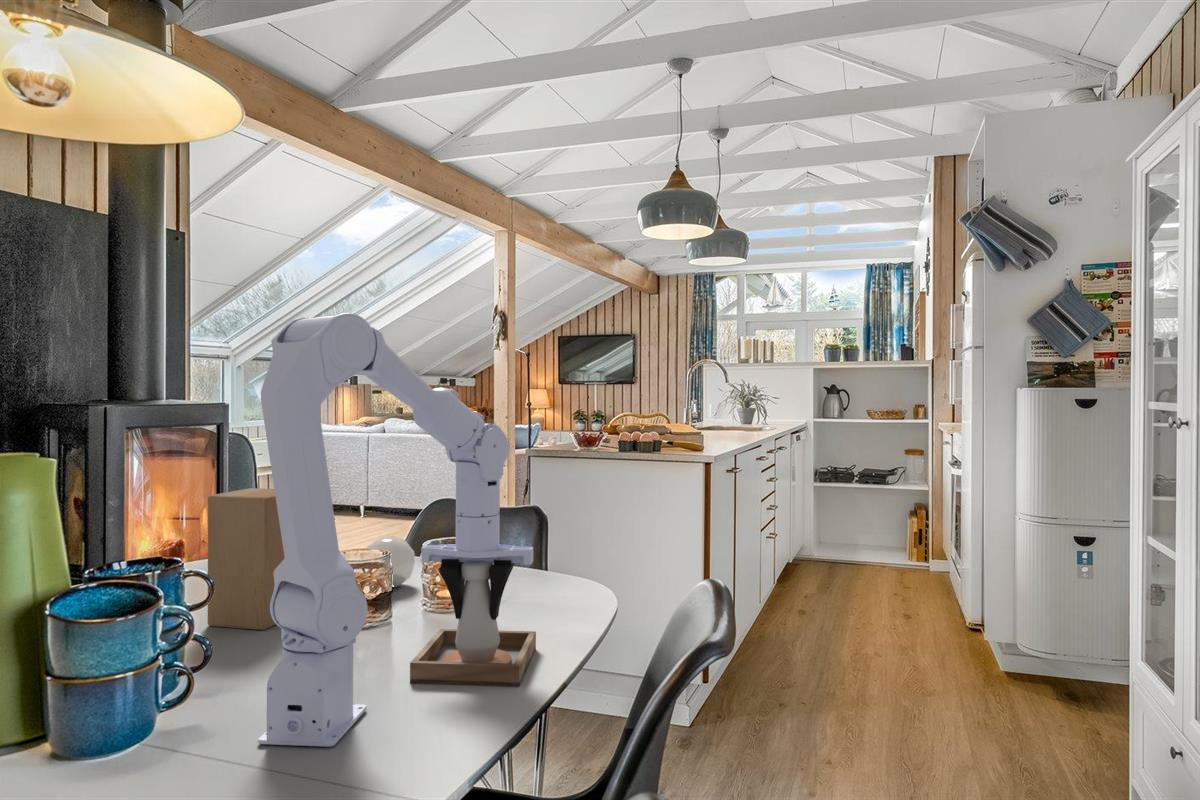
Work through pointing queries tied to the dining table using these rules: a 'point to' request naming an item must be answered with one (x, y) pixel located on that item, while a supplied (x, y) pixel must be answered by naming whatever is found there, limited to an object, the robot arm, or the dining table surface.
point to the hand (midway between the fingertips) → (477, 617)
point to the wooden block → (243, 557)
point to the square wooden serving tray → (435, 671)
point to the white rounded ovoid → (397, 557)
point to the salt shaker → (476, 615)
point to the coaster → (498, 658)
